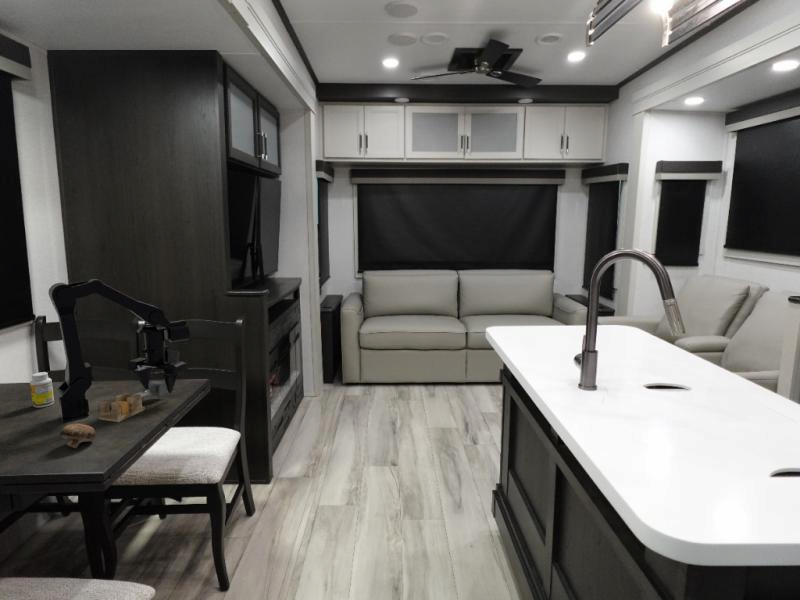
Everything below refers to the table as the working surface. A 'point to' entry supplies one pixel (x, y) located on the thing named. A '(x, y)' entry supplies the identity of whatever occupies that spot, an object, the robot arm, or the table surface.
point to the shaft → (153, 389)
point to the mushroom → (77, 434)
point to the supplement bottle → (41, 390)
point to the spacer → (123, 406)
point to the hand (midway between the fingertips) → (158, 391)
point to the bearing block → (115, 414)
